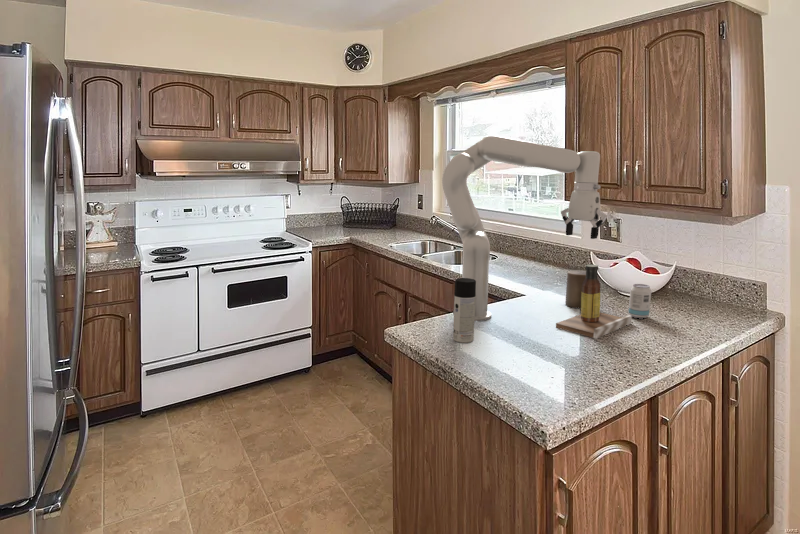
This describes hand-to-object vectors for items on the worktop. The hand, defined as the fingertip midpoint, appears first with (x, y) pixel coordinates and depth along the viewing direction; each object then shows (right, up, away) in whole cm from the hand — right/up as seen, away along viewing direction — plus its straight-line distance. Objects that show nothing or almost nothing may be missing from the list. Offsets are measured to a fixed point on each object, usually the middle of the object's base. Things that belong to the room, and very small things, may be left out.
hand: (581, 236), depth 176 cm
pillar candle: (+8, -26, +25) cm, 37 cm away
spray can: (-43, -35, -15) cm, 58 cm away
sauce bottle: (+3, -30, 0) cm, 30 cm away
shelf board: (+4, -31, 0) cm, 32 cm away
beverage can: (+25, -30, +9) cm, 40 cm away
